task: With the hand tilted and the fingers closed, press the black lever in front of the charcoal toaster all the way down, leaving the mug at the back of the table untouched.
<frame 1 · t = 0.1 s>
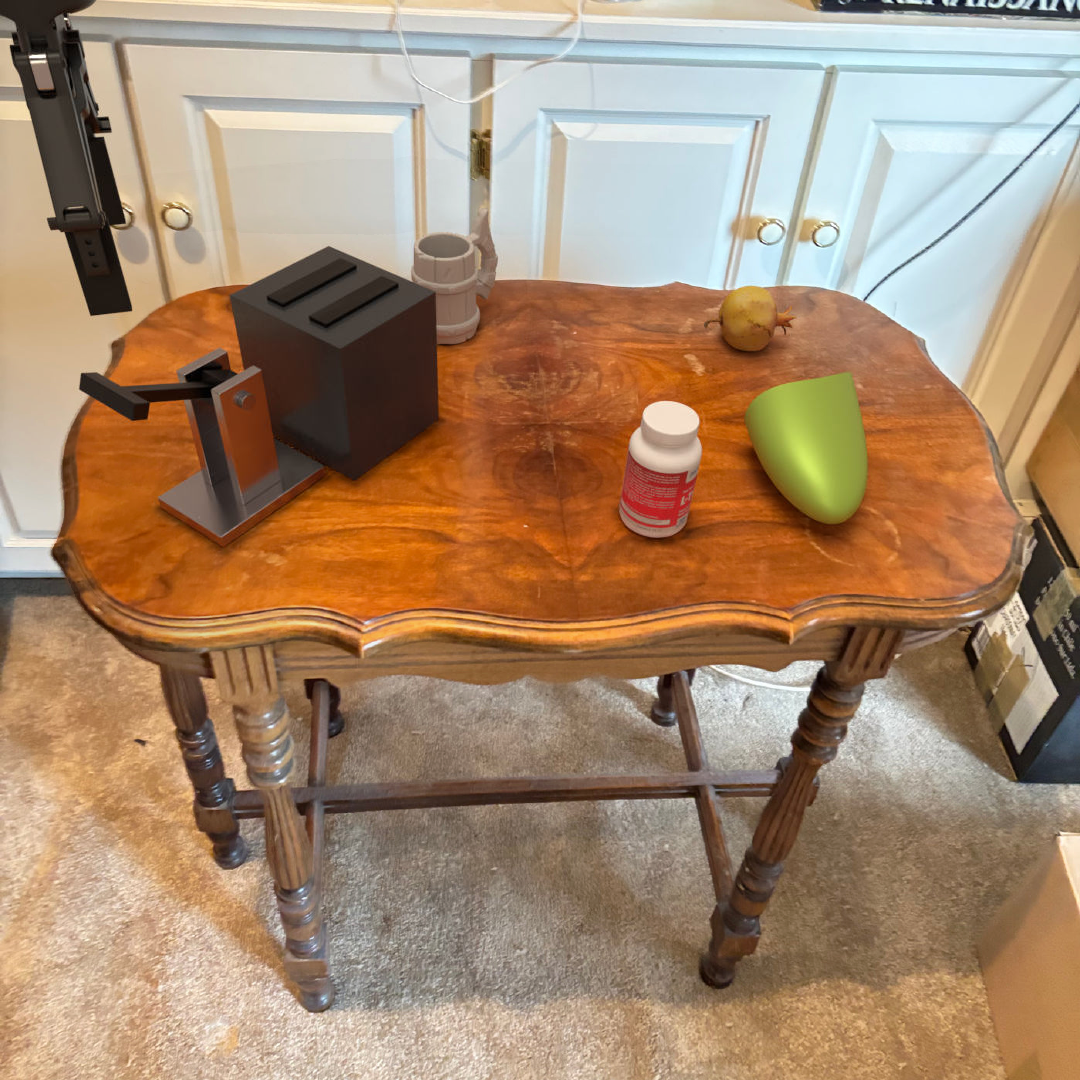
hand: (109, 265, 69), 21 cm above the table, tool pointing down, fingers open, 13 cm apart
mug: (458, 322, 106), on the table
fruit: (742, 344, 106), on the table
lever: (175, 391, 72), point 13 cm above the table, hinge at 25.0°
toaster: (347, 422, 91), on the table
pill bottle: (652, 518, 84), on the table
lever bracket: (245, 491, 83), on the table
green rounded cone: (804, 472, 90), on the table
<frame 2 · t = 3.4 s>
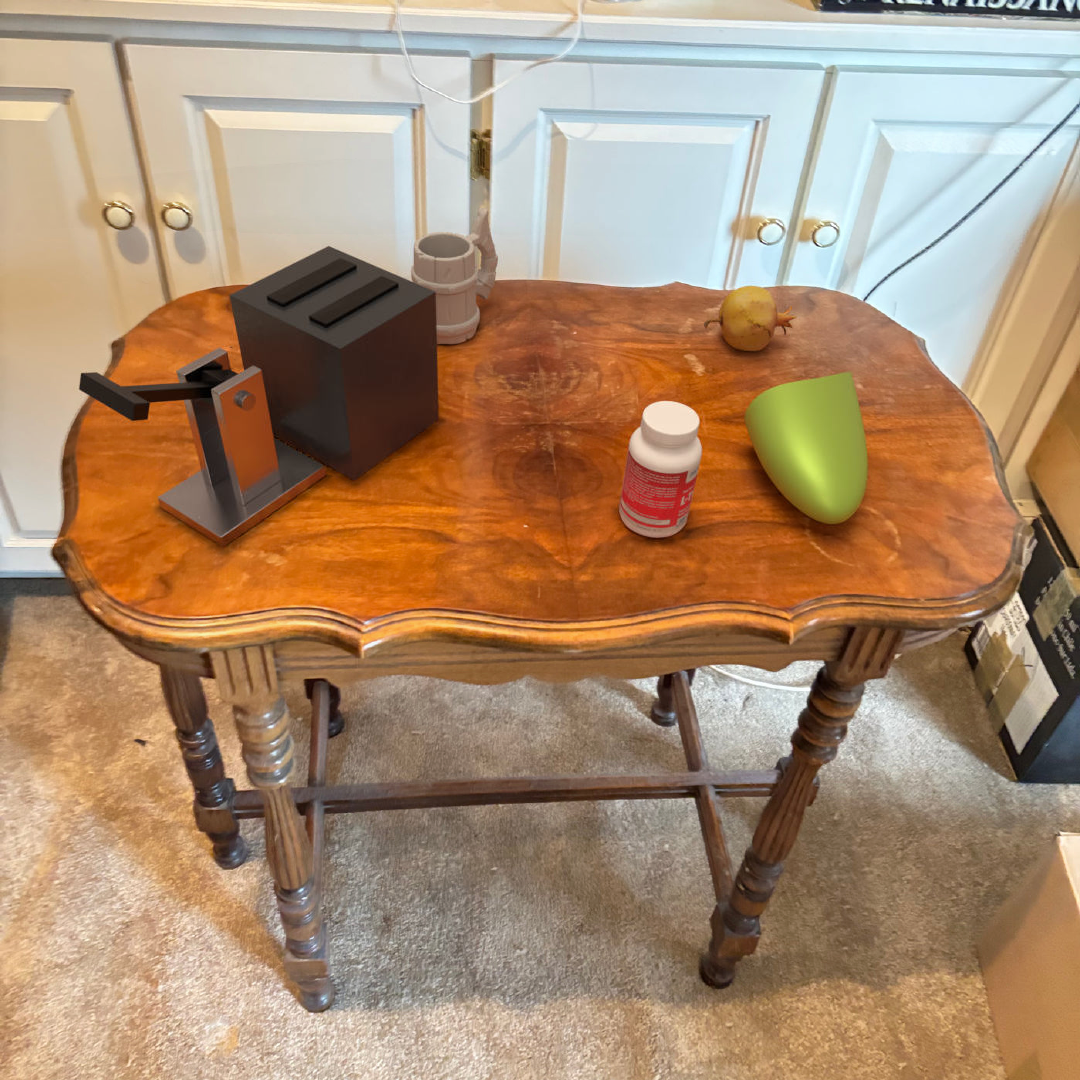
nothing on the table moved.
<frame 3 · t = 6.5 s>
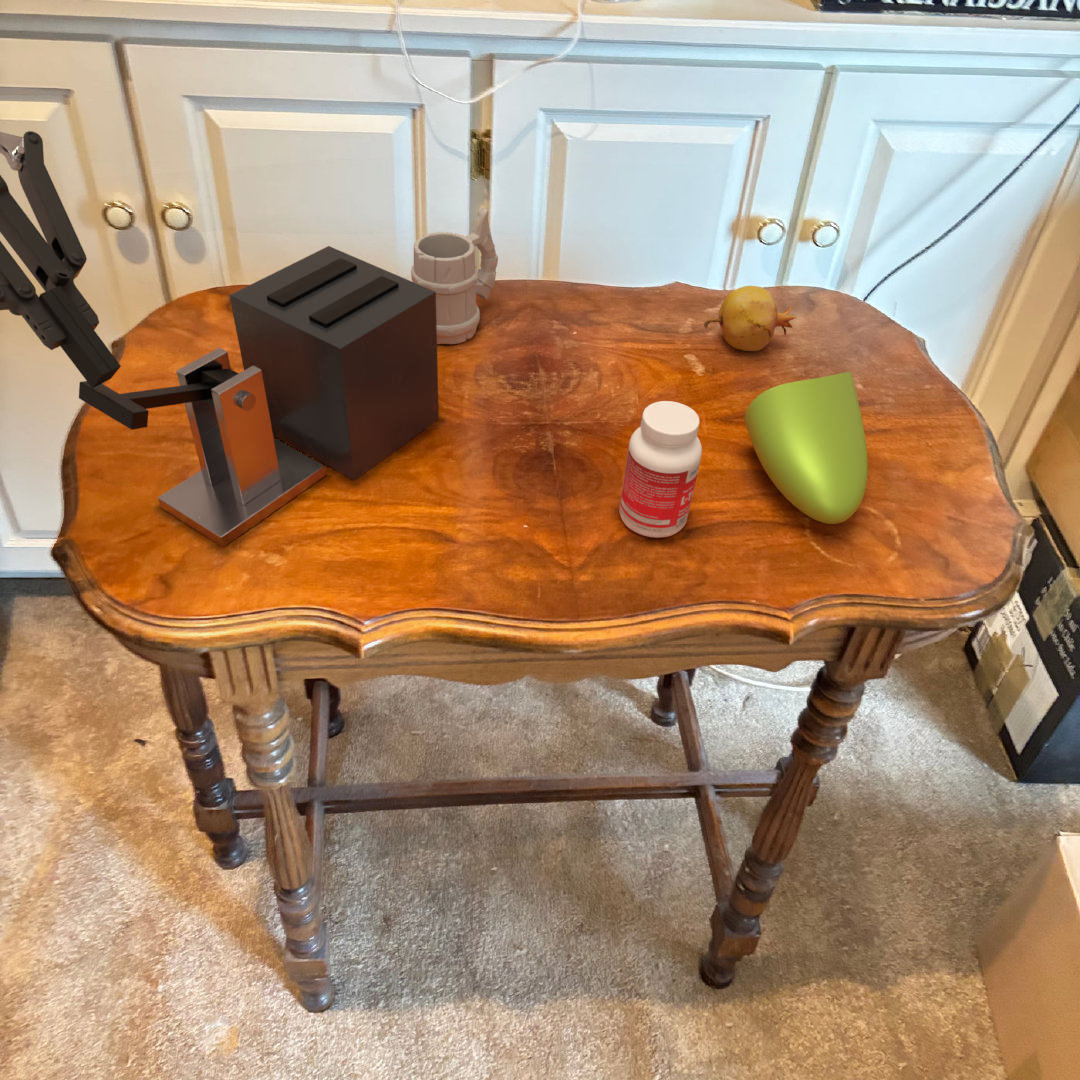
hand: (106, 377, 66), 17 cm above the table, tool tilted 45°, fingers closed
lever: (175, 395, 72), point 13 cm above the table, hinge at 21.3°
everything else where it was.
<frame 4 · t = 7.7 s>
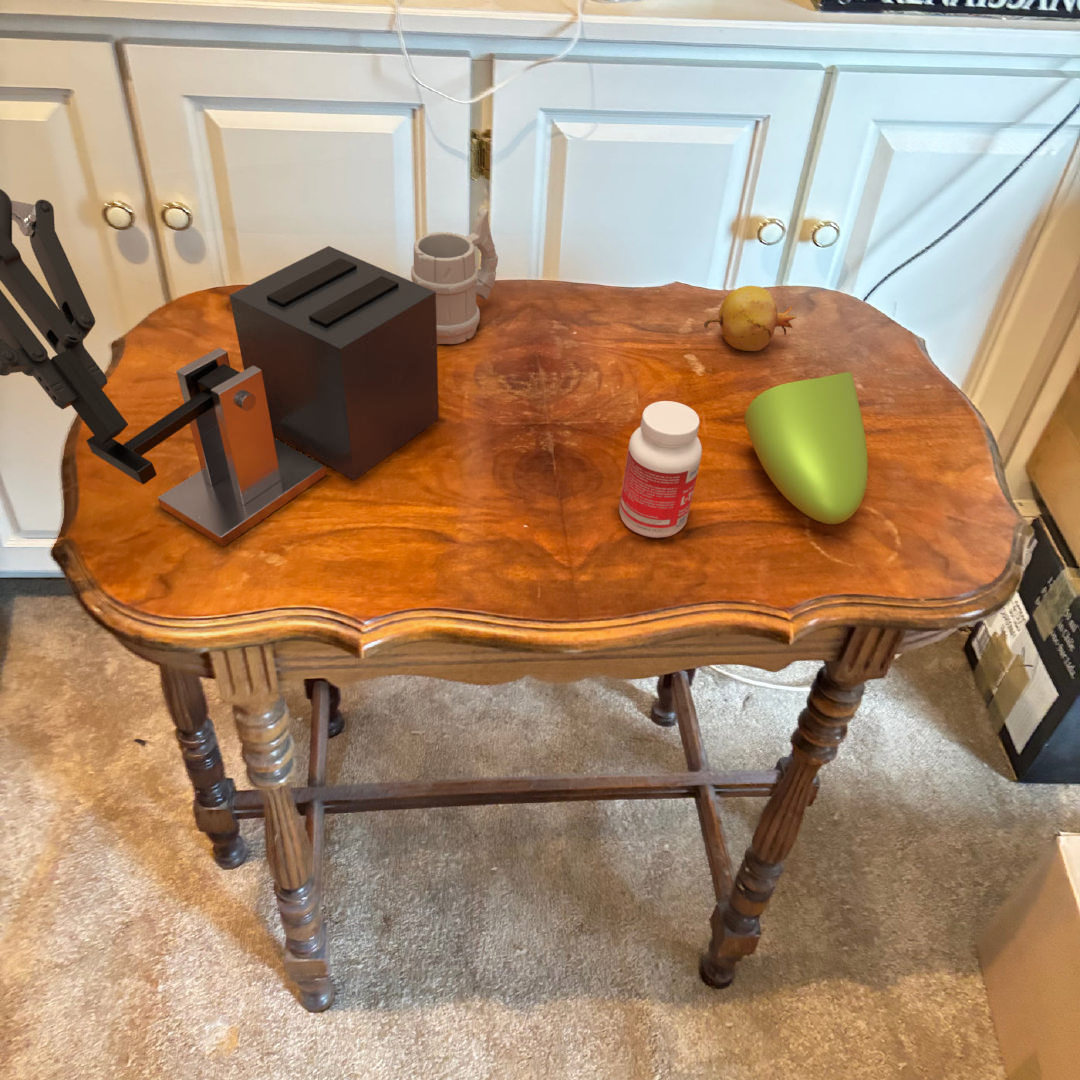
hand: (114, 434, 69), 12 cm above the table, tool tilted 45°, fingers closed
lever: (177, 419, 73), point 11 cm above the table, hinge at -5.1°, touching gripper
everything else where it was.
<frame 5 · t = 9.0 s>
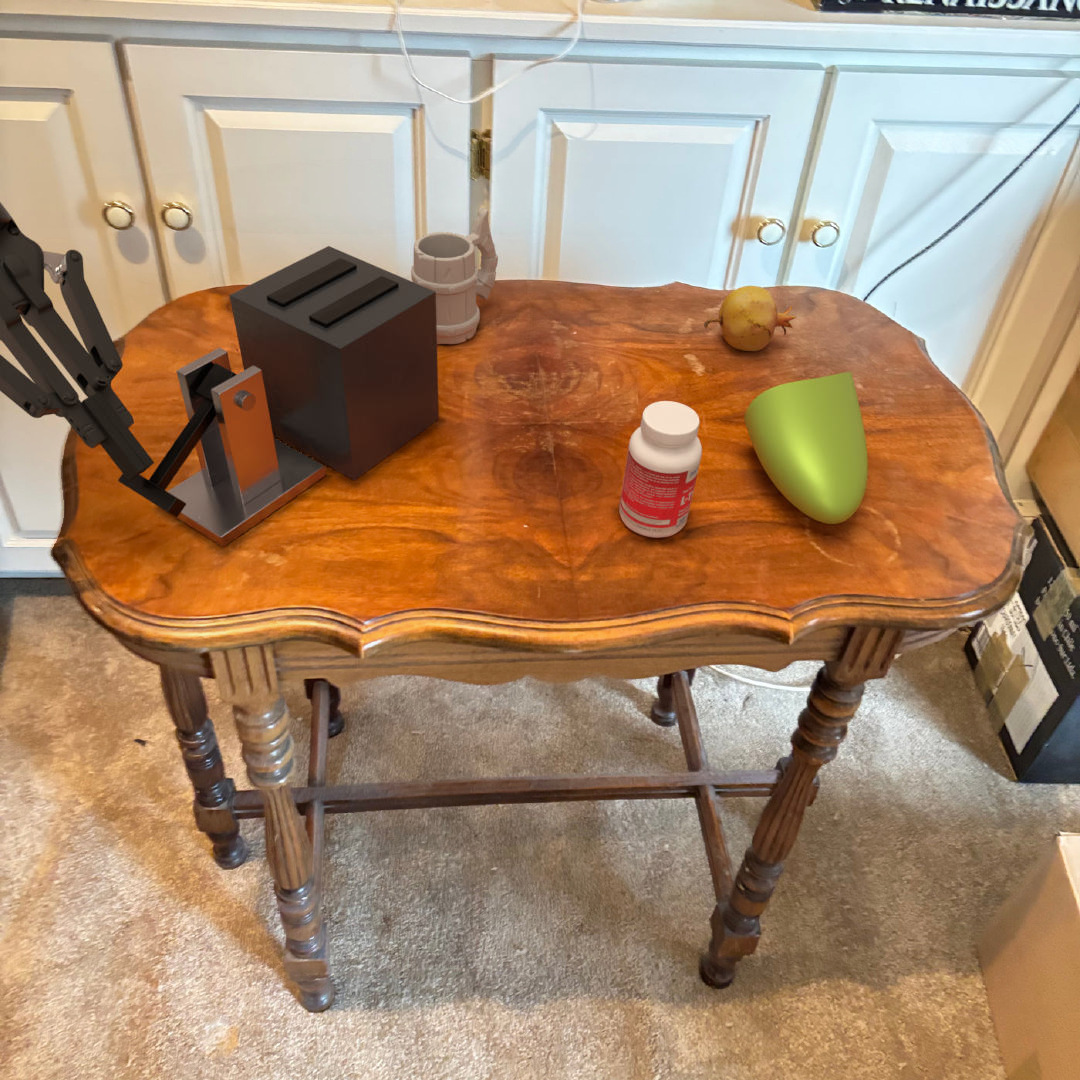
hand: (141, 471, 73), 8 cm above the table, tool tilted 45°, fingers closed
lever: (190, 436, 75), point 9 cm above the table, hinge at -32.3°, touching gripper
everything else where it was.
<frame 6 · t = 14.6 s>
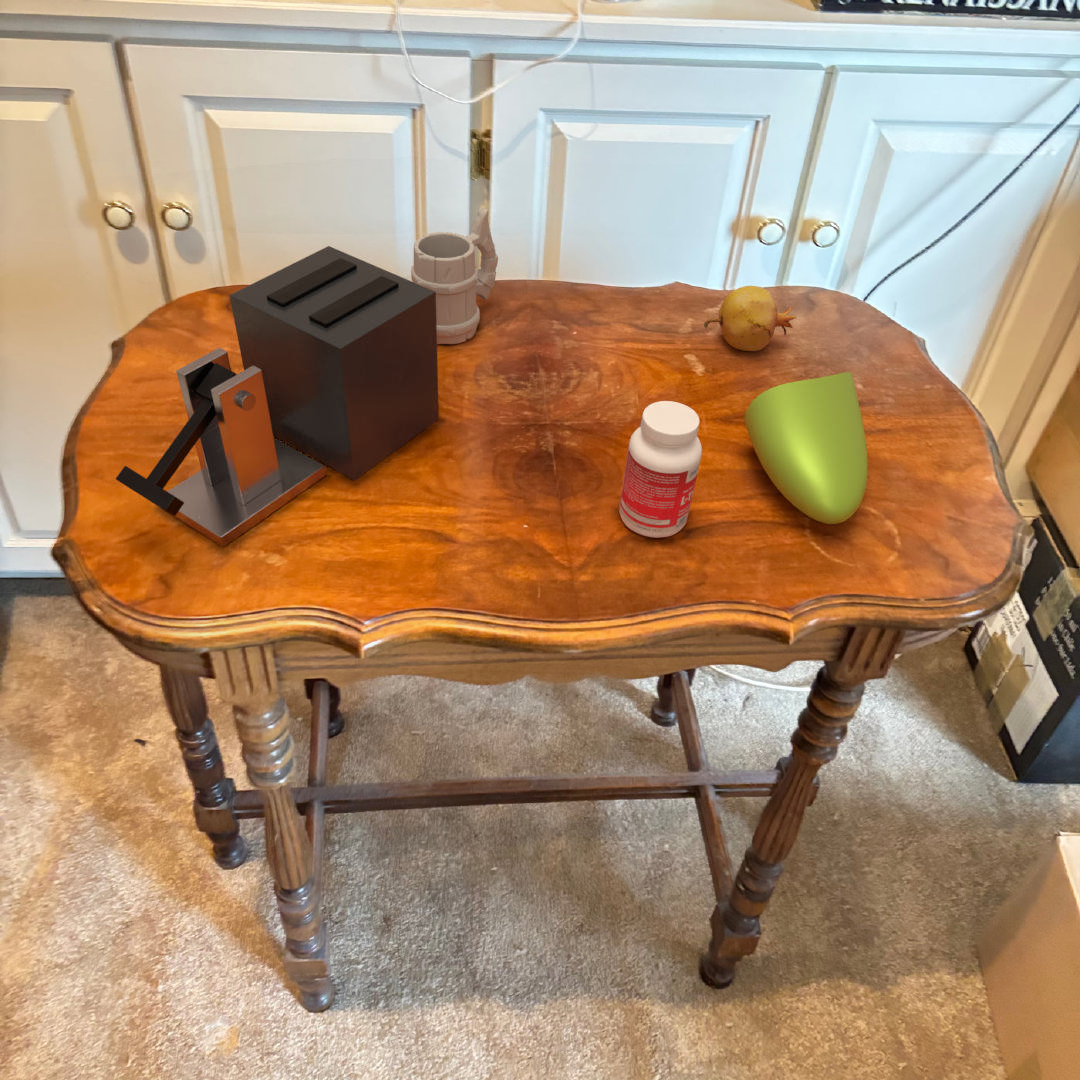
lever: (189, 435, 75), point 9 cm above the table, hinge at -30.7°
everything else where it was.
at the end: lever at -31° (first picture: +25°); mug moved 0.2 cm from its start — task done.
